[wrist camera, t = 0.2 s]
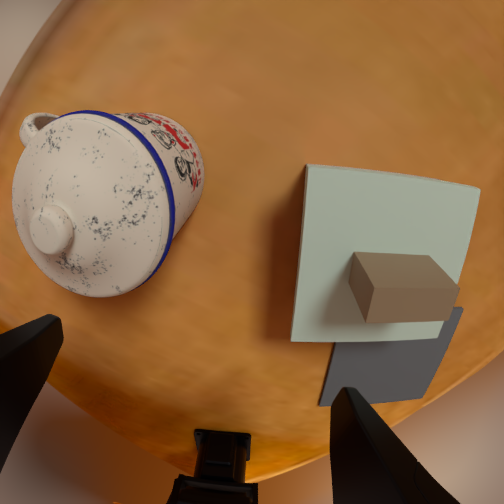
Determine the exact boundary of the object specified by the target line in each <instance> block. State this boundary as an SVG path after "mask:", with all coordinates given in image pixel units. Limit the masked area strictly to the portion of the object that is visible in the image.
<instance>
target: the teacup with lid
mask: <svg viewBox="0 0 504 504" xmlns="http://www.w3.org/2000/svg"><path fill="white" fill-rule="evenodd" d="M20 139H21V142H22V143H23V145H24V146H25V147H26V148H25V149H24V151H23V153H22V155H21V157H20V159H19V162H18V164H17V167H16V171H15V174H14V180H13V187H12V207H13V214H14V219H15V224H16V227H17V230H18V233H19V236H20V238H21V241H22V243H23V245H24V247H25V249H26V250H27V252H28V254H29V255H30V257H31V258H32V260H33V261H34V262H35V264H36V265H37V266H38V267H39V268H40V269H41V270H42V271H43V272H44V273H45V274H46V275H47V276H48V277H49V278H50V279H51V280H53V281H54V282H56V283H57V284H59V285H60V286H62V287H63V288H65V289H67V290H69V291H72V292H74V293H77V294H80V295H84V296H89V297H113V296H117V295H121V294H124V293H127V292H129V291H131V290H133V289H135V288H137V287H139V286H141V285H142V284H144V283H145V282H146V281H147V280H148V279H150V278H151V277H152V276H153V275H154V274H155V272H156V271H157V270H158V269H159V267H160V266H161V264H162V263H163V261H164V259H165V257H166V255H167V253H168V251H169V248H170V245H171V242H172V240H173V238H174V237H175V235H176V234H177V233H178V231H179V230H180V228H181V227H182V226H183V224H184V223H185V222H186V220H187V219H188V217H189V216H190V215H191V213H192V212H193V211H194V209H195V207H196V206H197V204H198V202H199V199H200V197H201V194H202V190H203V184H204V166H203V160H202V157H201V154H200V151H199V149H198V146H197V144H196V143H195V141H194V139H193V138H192V137H191V135H190V134H189V133H188V132H187V131H186V130H185V129H184V128H183V127H182V126H181V125H179V124H178V123H177V122H175V121H173V120H172V119H170V118H167V117H165V116H162V115H159V114H154V113H124V114H108V113H105V112H100V111H92V110H84V111H76V112H71V113H68V114H65V115H62V116H57V115H53V114H49V113H34V114H31V115H29V116H27V117H26V118H25V120H24V121H23V123H22V126H21V128H20Z"/></svg>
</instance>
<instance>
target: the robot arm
mask: <svg viewBox="0 0 504 504" xmlns="http://www.w3.org/2000/svg"><path fill="white" fill-rule="evenodd" d="M63 338H64V337H63V330H62V323H61V319H60V318H59V317H57V316H55V315H52V314H47V315H45V316H42V317H40V318H37V319H35V320H33V321H30V322H28V323H26V324H23V325H21V326H19V327H16V328H14V329H12V330H9V331H7V332H5V333H2V334H0V473H1V471H2V468H3V466H4V464H5V461H6V459H7V457H8V454H9V452H10V450H11V448H12V446H13V444H14V442H15V439H16V437H17V435H18V433H19V431H20V429H21V427H22V425H23V423H24V421H25V419H26V417H27V415H28V413H29V411H30V409H31V408H32V406H33V404H34V402H35V400H36V398H37V396H38V395H39V393H40V391H41V389H42V387H43V385H44V384H45V382H46V380H47V378H48V375H49V373H50V371H51V368H52V366H53V364H54V361H55V359H56V357H57V355H58V352H59V350H60V348H61V346H62V343H63ZM194 436H195V440H196V445H197V450H198V455H197V461H196V466H195V472H194V477H191V476H185V475H183V474H179V477H178V478H177V479H175V481H174V485H173V489H172V492H171V495H170V497H169V499H168V501H167V503H166V504H258V483H245V470H246V461H249V460H250V445H251V435H250V434H247V433H233V432H220V431H210V430H200V429H196V430H195V432H194ZM330 461H331V474H332V486H333V487H332V489H333V504H460V503H459V502H458V501H457V500H456V499H455V498H454V497H453V496H452V495H451V494H450V493H448V492H447V491H446V490H445V489H444V488H443V487H442V486H441V485H440V484H439V483H438V482H437V481H436V480H435V479H434V478H433V477H432V476H431V475H430V474H429V473H428V471H427V470H426V469H425V468H424V467H423V466H422V465H421V464H420V462H417V459H416V458H415V457H414V455H413V454H412V453H411V452H410V451H409V450H408V449H407V447H406V446H405V445H404V444H403V443H402V442H401V440H400V439H399V438H398V437H397V436H396V435H395V434H394V432H393V431H392V430H391V429H390V428H389V426H388V425H387V424H386V423H385V422H384V421H383V419H382V418H381V417H380V416H379V415H378V414H377V412H376V411H375V410H374V409H373V408H372V406H371V405H370V404H369V403H368V402H367V401H366V399H365V398H364V397H363V396H362V395H361V394H360V392H359V391H358V390H357V389H356V388H354V387H346V386H345V387H342V388H341V390H340V391H339V393H338V394H337V396H336V397H335V399H334V400H333V402H332V405H331V419H330Z"/></svg>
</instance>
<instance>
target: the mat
mask: <svg viewBox="0 0 504 504" xmlns="http://www.w3.org/2000/svg"><path fill="white" fill-rule="evenodd" d="M462 312H463V308H462V307H453V310H452V312H451V315H450V318H449V320H448V321H444V322H443V325H442V328H441V330H440V333H439V335H438V337H437V338H432V339H417V340H398V341H370V342H335V344H334V349H333V353H332V357H331V361H330V365H329V369H328V373H327V377H326V380H325V384H324V388H323V391H322V395H321V399H320V402H319V407H320V406H331V405H332V402H333V400H334V399H335V397H336V396H337V394H338V393H339V391H340V390H341V388H342V387H345V386H346V387H354V388H356V389H357V390H358V391H359V392H360V394H361V395H362V396H363V397H364V398H365V399H366V401H367V402H368V403H369V404H375V403H386V402H395V401H404V400H412V399H419V398H422V397H423V396H424V394H425V392H426V390H427V388H428V386H429V385H430V383H431V381H432V379H433V377H434V375H435V373H436V371H437V369H438V367H439V365H440V363H441V361H442V359H443V356H444V354H445V352H446V350H447V348H448V346H449V343H450V341H451V339H452V336H453V334H454V332H455V329H456V327H457V325H458V322H459V320H460V317H461V315H462Z"/></svg>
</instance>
